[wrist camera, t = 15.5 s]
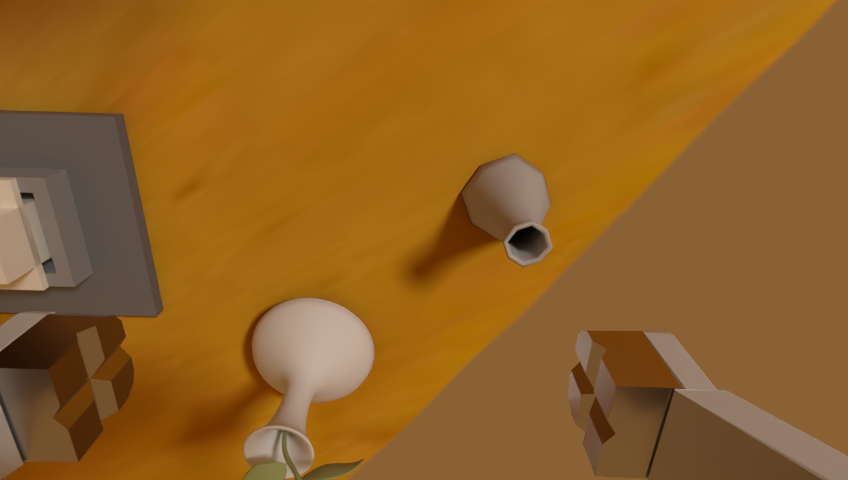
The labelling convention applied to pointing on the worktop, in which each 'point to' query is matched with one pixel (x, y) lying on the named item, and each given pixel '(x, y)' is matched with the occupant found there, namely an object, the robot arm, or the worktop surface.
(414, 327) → the worktop surface
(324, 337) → the flower in vase
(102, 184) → the plate
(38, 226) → the block
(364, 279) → the worktop surface
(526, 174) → the flask
